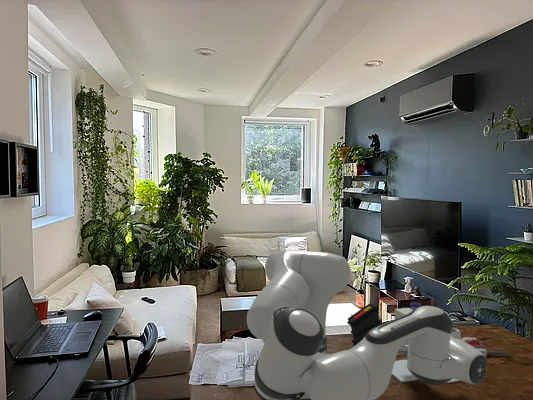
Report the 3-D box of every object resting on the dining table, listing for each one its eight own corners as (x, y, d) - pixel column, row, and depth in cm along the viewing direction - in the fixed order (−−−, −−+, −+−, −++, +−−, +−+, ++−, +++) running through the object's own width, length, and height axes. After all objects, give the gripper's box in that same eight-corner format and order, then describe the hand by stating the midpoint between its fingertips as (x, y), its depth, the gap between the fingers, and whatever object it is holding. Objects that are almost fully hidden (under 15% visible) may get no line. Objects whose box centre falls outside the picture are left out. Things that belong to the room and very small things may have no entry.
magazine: (390, 340, 141) (376, 305, 139) (363, 360, 137) (347, 325, 135) (384, 336, 145) (369, 302, 142) (357, 356, 141) (341, 321, 138)
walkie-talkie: (450, 356, 132) (511, 358, 131) (450, 343, 132) (511, 345, 130) (440, 346, 141) (498, 347, 139) (441, 334, 141) (498, 335, 139)
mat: (401, 382, 114) (401, 381, 114) (379, 364, 125) (379, 363, 125) (430, 377, 117) (430, 376, 117) (405, 360, 128) (405, 359, 128)
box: (404, 356, 118) (404, 314, 117) (394, 349, 122) (394, 309, 122) (418, 354, 119) (418, 312, 118) (408, 347, 124) (408, 307, 123)
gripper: (402, 360, 105) (375, 340, 119) (464, 351, 111) (431, 333, 124) (402, 337, 105) (375, 320, 118) (464, 329, 110) (432, 314, 124)
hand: (404, 327), depth 121 cm, fingers closed on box, 5 cm apart
